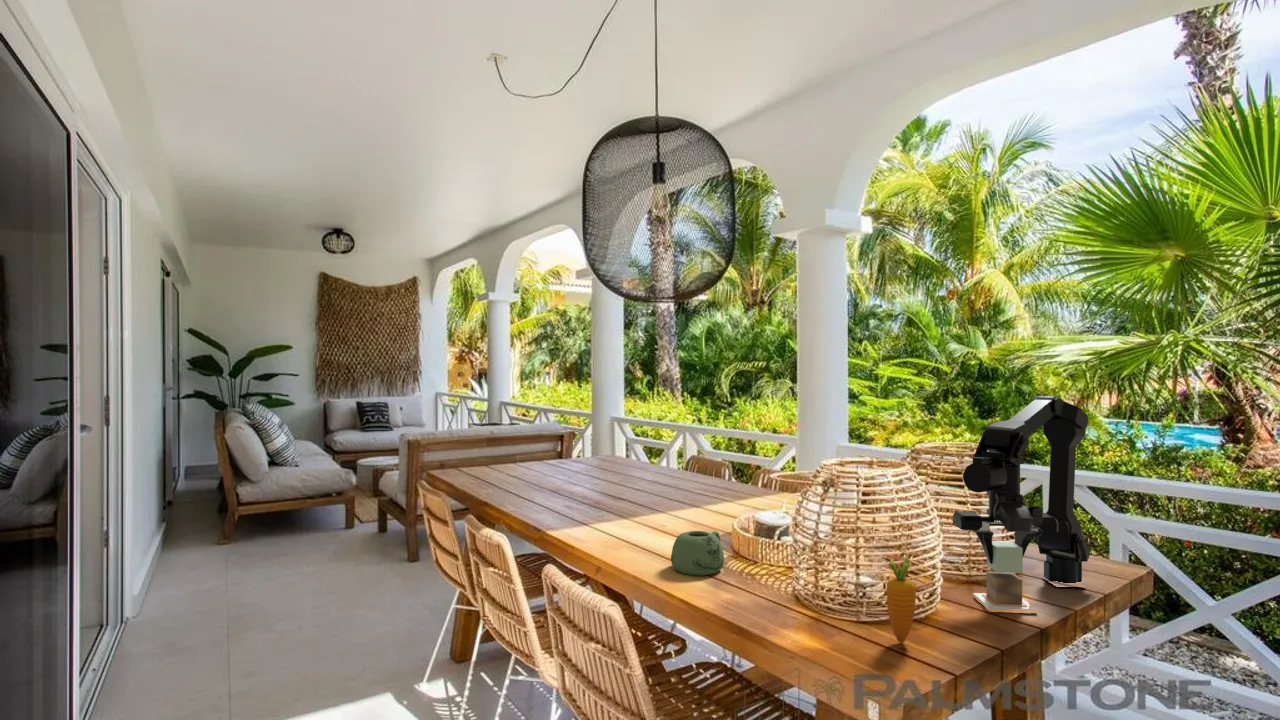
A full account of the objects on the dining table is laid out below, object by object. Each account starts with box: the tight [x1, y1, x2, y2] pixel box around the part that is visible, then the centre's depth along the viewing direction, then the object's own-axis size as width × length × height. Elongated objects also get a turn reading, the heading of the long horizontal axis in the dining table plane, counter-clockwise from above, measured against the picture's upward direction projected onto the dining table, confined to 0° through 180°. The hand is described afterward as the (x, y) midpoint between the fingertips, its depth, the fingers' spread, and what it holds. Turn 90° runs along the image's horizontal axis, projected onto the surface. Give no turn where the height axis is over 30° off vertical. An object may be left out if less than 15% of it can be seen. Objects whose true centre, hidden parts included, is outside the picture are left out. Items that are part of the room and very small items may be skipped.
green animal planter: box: [670, 530, 725, 577], centre depth 172 cm, size 16×13×9 cm
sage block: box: [986, 540, 1024, 574], centre depth 145 cm, size 5×5×5 cm
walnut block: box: [985, 570, 1023, 604], centre depth 146 cm, size 5×5×5 cm
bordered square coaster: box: [972, 592, 1030, 610], centre depth 145 cm, size 9×9×1 cm
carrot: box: [886, 557, 917, 644], centre depth 126 cm, size 5×5×15 cm
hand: (1004, 563), depth 146 cm, fingers closed on sage block, 5 cm apart
